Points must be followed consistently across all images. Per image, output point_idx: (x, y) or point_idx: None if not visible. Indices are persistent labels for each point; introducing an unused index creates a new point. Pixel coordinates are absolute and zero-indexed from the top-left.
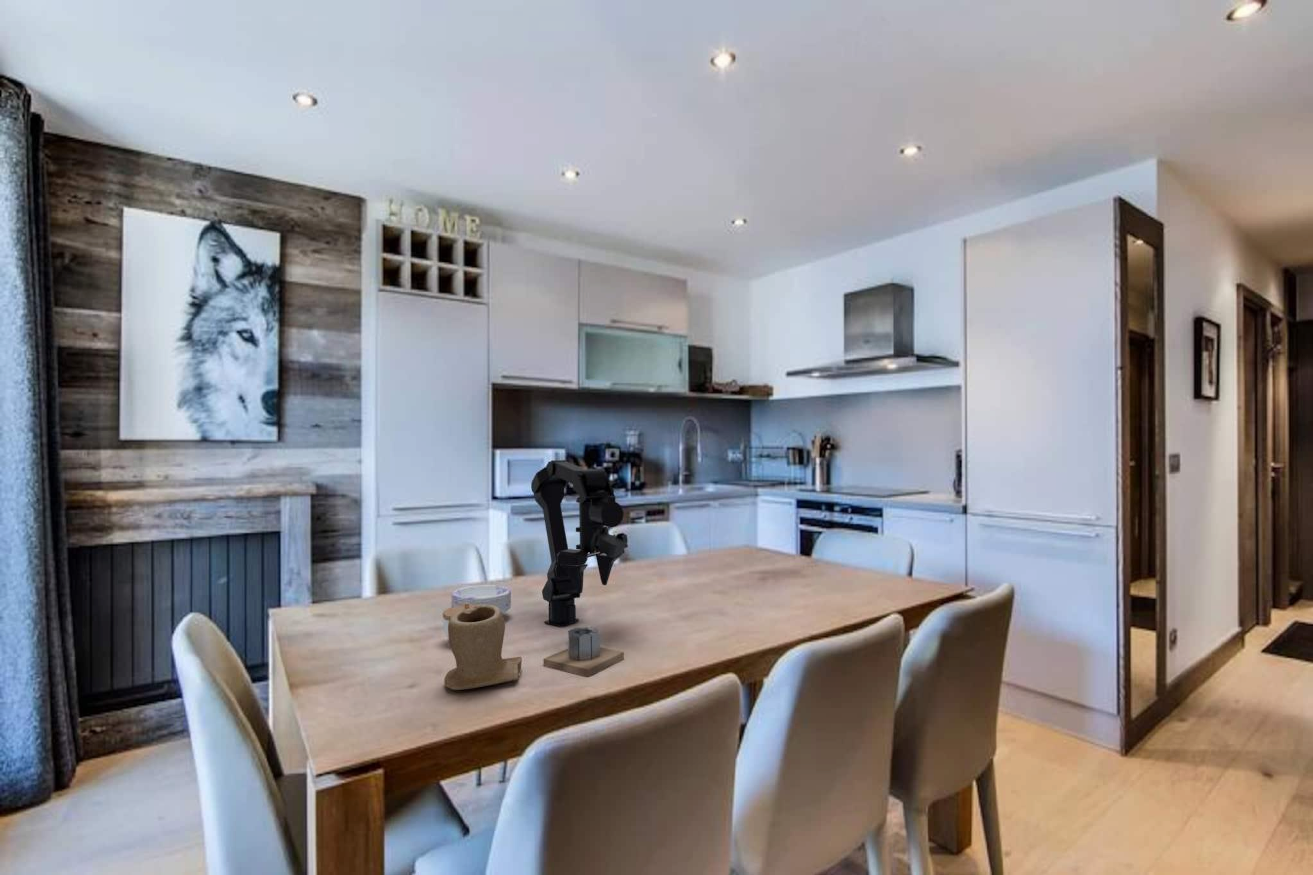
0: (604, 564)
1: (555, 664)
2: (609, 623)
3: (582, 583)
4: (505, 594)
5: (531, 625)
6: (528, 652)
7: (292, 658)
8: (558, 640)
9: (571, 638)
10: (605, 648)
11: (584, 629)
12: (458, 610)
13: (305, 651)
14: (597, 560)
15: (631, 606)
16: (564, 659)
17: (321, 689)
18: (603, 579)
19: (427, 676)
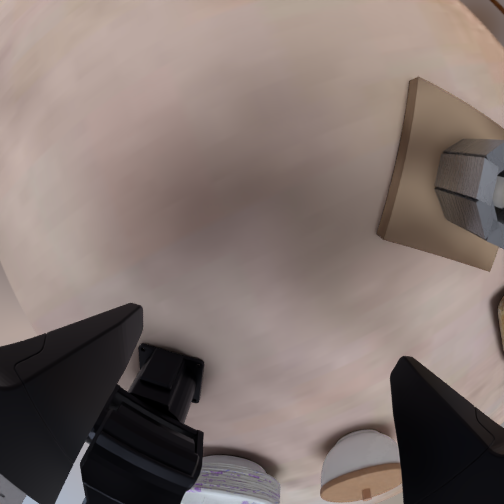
0: (50, 423)
1: None
2: (116, 260)
3: (441, 390)
4: (218, 491)
5: (221, 414)
6: (408, 342)
7: None
8: (312, 327)
9: None
10: (411, 139)
11: (492, 204)
12: (372, 491)
13: (388, 494)
14: (63, 478)
15: (12, 264)
16: None
17: None
18: (126, 343)
19: (488, 389)
